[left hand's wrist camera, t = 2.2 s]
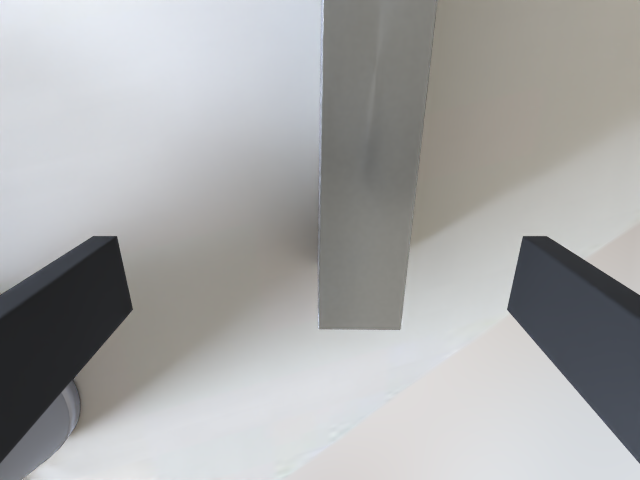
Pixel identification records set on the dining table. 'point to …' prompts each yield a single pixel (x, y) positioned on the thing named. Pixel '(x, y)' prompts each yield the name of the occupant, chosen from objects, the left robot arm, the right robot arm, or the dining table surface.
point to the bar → (369, 155)
